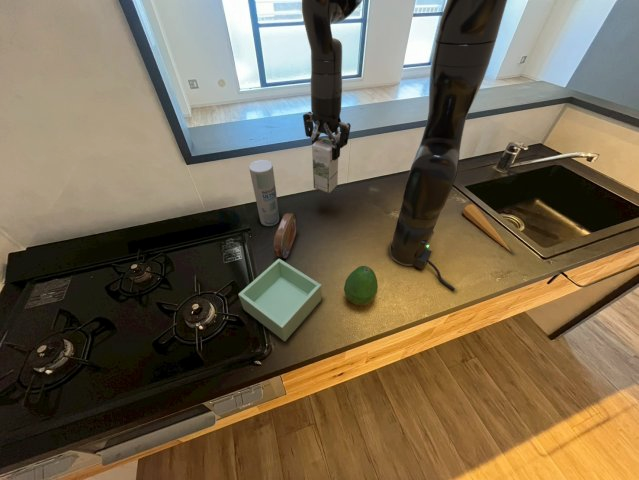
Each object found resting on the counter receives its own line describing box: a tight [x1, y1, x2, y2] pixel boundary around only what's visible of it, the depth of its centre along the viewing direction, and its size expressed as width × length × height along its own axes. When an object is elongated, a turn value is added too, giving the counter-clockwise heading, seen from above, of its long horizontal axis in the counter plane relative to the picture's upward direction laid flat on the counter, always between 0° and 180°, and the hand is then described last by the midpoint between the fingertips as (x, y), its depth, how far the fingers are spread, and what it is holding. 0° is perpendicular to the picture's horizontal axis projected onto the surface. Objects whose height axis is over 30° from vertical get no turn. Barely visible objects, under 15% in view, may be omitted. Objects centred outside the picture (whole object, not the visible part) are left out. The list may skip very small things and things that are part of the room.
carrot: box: [462, 203, 512, 253], centre depth 87 cm, size 20×4×4 cm, turn 21°
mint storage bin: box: [238, 258, 322, 342], centre depth 67 cm, size 14×14×7 cm
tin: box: [272, 212, 298, 259], centre depth 81 cm, size 15×3×8 cm, turn 168°
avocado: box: [343, 265, 379, 306], centre depth 66 cm, size 8×8×12 cm
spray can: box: [248, 159, 280, 227], centre depth 84 cm, size 6×6×20 cm
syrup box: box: [311, 136, 339, 194], centre depth 82 cm, size 6×6×14 cm
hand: (325, 155), depth 79 cm, fingers closed on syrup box, 6 cm apart
